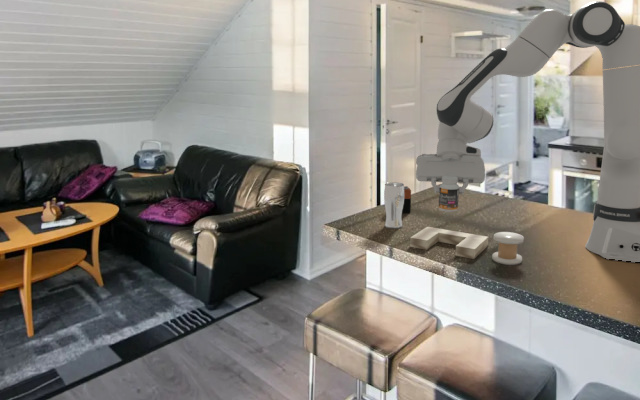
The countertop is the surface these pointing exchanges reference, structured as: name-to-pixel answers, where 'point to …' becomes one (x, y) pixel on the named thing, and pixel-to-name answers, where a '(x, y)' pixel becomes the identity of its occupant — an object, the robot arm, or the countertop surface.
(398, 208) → the beer glass
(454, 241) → the notched board
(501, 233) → the spool
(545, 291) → the countertop surface
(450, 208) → the pill bottle
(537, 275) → the countertop surface
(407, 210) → the battery
